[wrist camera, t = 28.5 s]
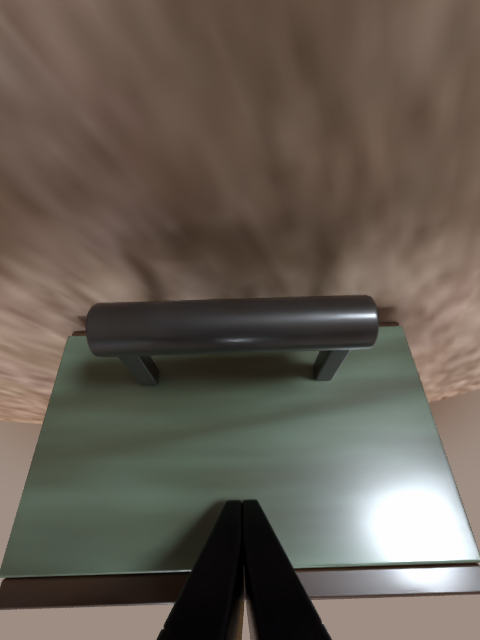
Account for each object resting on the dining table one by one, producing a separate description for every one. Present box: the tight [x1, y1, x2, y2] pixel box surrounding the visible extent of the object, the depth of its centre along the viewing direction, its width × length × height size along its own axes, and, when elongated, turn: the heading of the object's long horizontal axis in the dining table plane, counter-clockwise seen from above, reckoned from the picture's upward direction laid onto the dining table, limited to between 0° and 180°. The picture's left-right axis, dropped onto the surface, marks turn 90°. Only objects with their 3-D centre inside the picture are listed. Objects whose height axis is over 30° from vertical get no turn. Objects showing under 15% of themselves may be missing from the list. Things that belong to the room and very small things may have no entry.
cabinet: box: [0, 323, 480, 610], centre depth 17 cm, size 14×14×9 cm
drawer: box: [0, 295, 480, 578], centre depth 14 cm, size 18×13×7 cm
